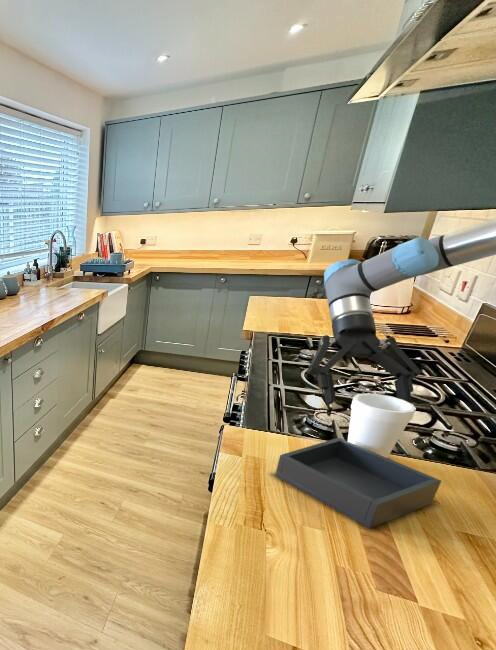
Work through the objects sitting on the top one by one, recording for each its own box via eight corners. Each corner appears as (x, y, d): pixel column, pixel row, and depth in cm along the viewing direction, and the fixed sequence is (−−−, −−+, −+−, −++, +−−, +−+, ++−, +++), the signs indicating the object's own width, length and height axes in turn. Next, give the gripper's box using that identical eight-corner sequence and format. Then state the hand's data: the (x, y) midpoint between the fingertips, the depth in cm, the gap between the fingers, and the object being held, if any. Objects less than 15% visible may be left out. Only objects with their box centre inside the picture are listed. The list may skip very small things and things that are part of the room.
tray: (431, 503, 76) (441, 480, 74) (369, 528, 71) (378, 504, 69) (332, 457, 91) (338, 437, 89) (274, 475, 86) (280, 454, 84)
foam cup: (367, 471, 86) (387, 414, 81) (326, 448, 94) (342, 396, 89) (407, 465, 87) (429, 409, 82) (363, 443, 95) (380, 391, 90)
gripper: (406, 329, 98) (426, 414, 90) (284, 327, 105) (293, 406, 97) (429, 312, 91) (453, 402, 84) (297, 311, 98) (308, 394, 90)
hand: (367, 404), depth 90 cm, fingers open, 13 cm apart
